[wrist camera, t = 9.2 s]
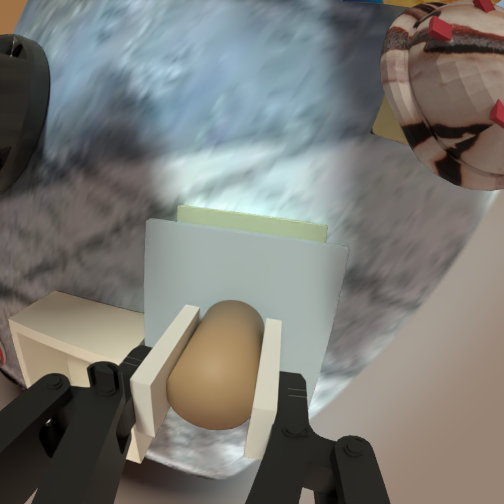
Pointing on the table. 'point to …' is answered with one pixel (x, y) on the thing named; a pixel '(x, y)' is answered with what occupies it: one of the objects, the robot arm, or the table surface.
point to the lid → (237, 311)
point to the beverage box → (410, 2)
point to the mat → (252, 223)
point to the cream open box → (76, 343)
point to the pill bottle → (2, 355)
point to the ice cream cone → (447, 90)
